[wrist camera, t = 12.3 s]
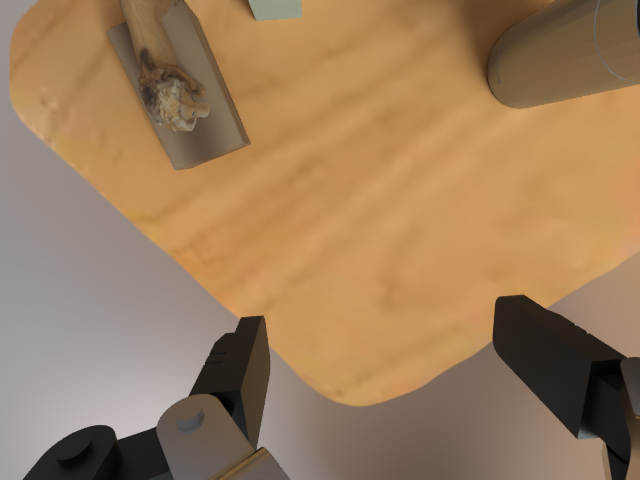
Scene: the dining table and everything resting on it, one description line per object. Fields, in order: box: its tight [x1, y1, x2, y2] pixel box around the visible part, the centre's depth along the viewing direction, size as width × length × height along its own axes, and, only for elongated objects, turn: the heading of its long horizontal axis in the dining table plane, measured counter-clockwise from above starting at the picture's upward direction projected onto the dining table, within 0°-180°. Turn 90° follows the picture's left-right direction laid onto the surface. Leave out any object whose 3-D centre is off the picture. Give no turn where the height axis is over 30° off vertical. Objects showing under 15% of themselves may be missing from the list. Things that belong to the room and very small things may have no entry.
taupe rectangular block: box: [106, 0, 251, 170], centre depth 34 cm, size 8×14×5 cm, turn 21°
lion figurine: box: [120, 0, 210, 132], centre depth 27 cm, size 15×5×9 cm, turn 20°
